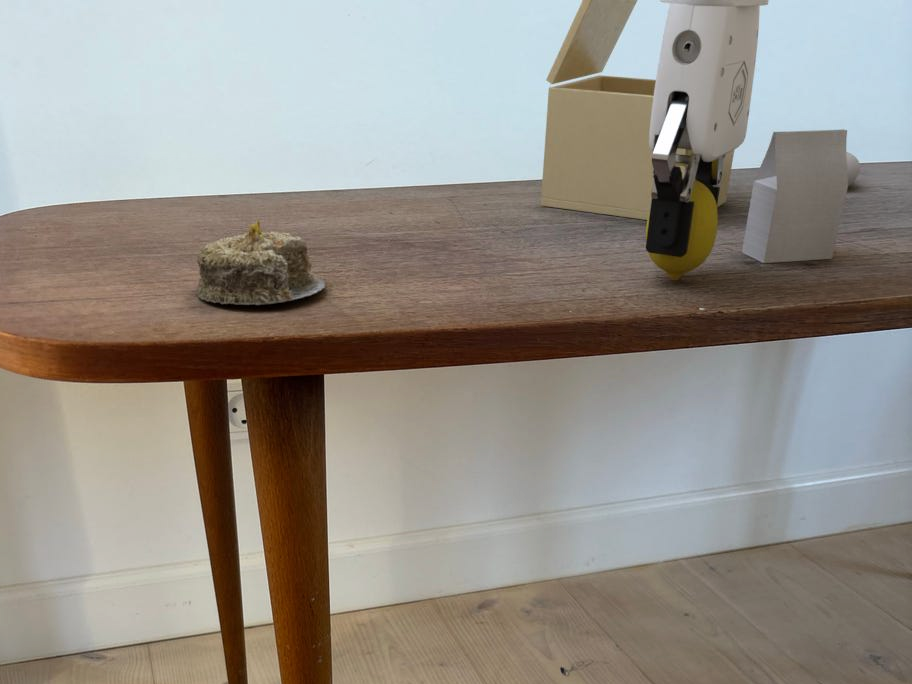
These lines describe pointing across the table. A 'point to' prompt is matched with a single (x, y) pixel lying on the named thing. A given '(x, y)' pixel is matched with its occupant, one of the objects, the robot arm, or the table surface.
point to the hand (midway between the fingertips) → (679, 242)
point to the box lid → (590, 39)
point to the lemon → (693, 235)
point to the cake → (256, 269)
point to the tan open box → (604, 148)
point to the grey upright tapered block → (798, 197)
